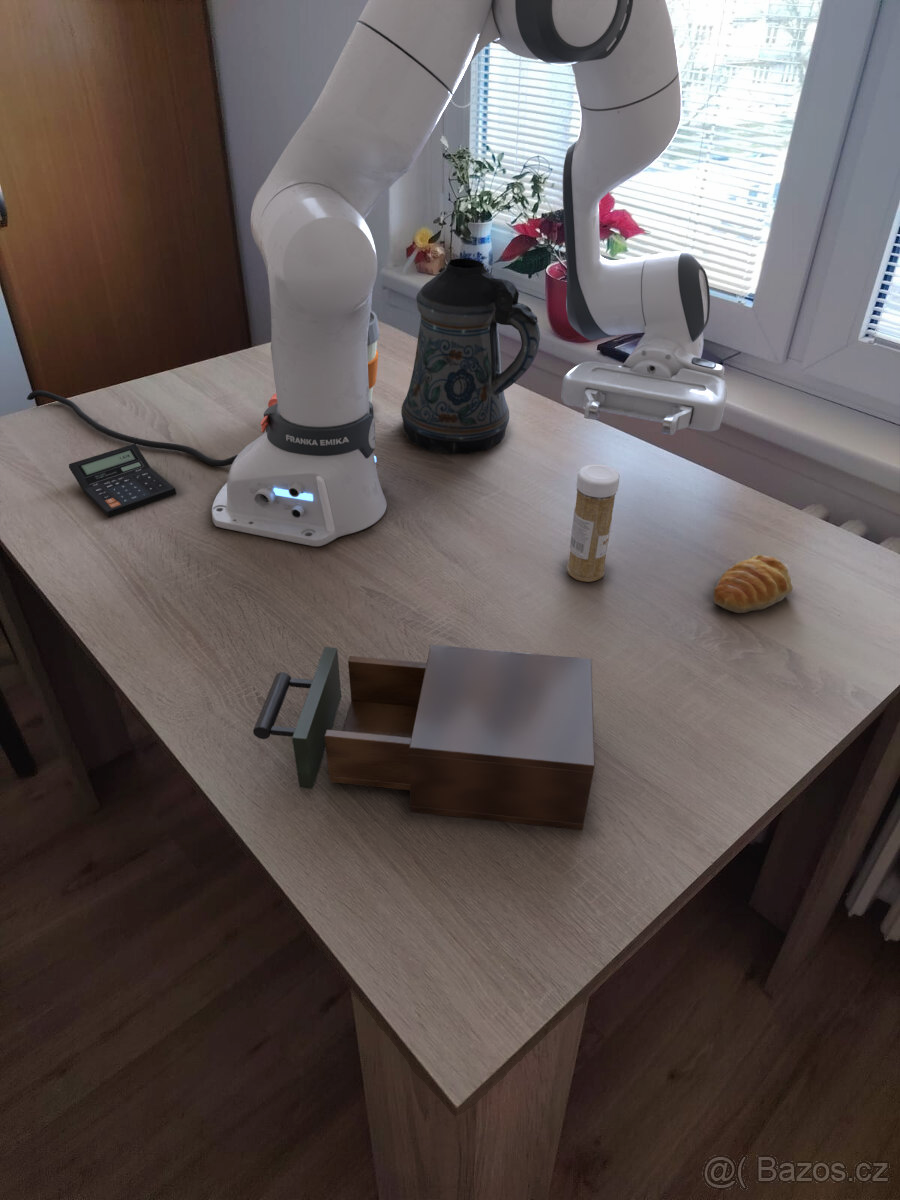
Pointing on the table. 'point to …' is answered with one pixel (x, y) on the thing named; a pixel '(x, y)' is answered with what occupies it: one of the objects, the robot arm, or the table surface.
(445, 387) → the beer stein
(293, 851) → the table surface
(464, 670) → the cabinet
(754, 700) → the table surface
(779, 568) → the pastry
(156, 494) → the calculator
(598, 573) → the sprinkles bottle
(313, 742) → the drawer
